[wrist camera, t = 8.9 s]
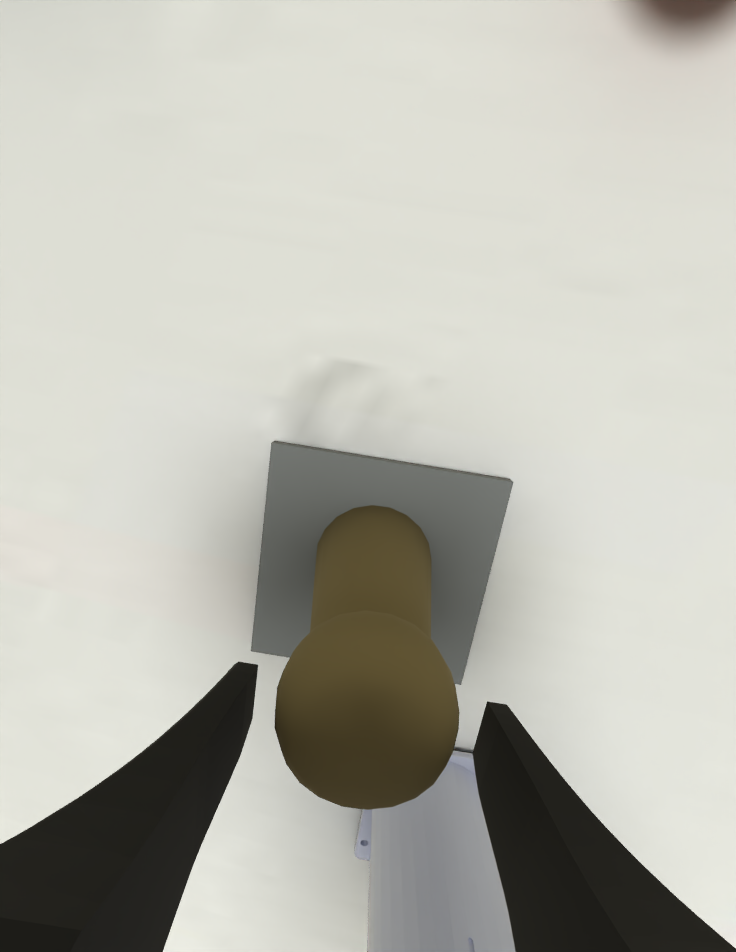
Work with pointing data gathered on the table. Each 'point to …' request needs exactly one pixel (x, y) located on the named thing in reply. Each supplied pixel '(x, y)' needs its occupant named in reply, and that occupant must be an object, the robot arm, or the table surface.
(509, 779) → the robot arm
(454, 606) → the placemat
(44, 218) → the table surface
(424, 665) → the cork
